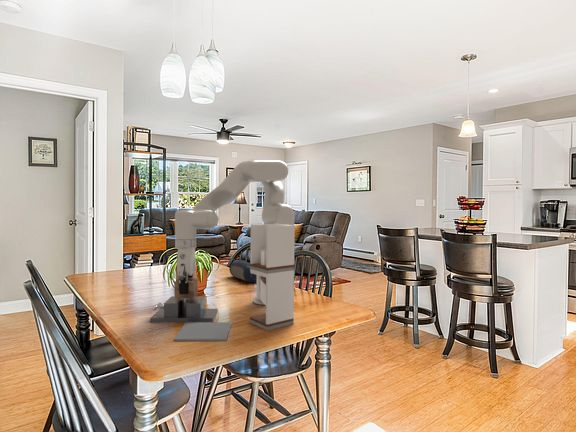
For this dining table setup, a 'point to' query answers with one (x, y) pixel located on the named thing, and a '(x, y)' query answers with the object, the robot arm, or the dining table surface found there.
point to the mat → (204, 331)
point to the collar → (192, 288)
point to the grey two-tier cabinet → (274, 273)
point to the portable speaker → (242, 271)
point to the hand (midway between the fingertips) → (186, 291)
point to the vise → (184, 310)
